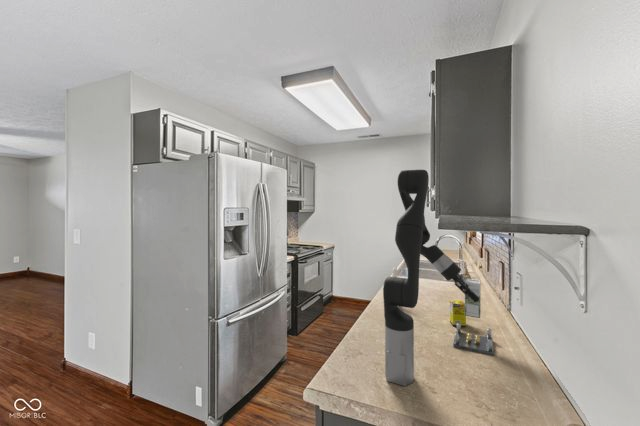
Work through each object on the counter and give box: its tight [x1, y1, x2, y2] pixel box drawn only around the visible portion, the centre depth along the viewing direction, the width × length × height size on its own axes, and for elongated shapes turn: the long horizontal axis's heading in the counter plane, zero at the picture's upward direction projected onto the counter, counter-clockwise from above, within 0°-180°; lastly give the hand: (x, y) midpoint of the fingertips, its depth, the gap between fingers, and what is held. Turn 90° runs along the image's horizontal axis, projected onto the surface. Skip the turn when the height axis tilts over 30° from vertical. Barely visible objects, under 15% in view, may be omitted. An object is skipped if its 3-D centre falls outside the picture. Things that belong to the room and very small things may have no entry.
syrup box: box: [464, 278, 482, 319], centre depth 117 cm, size 6×6×14 cm
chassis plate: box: [452, 323, 495, 356], centre depth 117 cm, size 14×14×5 cm
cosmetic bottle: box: [391, 267, 400, 308], centre depth 165 cm, size 6×6×22 cm
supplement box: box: [449, 299, 467, 328], centre depth 137 cm, size 6×6×11 cm
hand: (477, 298), depth 116 cm, fingers closed on syrup box, 6 cm apart
